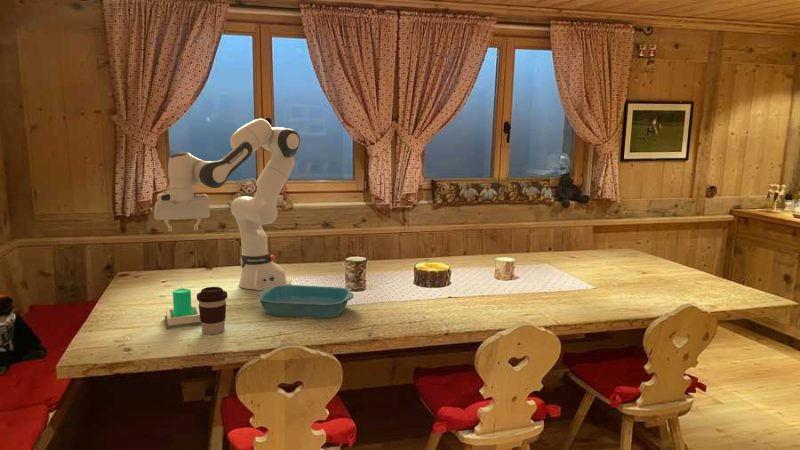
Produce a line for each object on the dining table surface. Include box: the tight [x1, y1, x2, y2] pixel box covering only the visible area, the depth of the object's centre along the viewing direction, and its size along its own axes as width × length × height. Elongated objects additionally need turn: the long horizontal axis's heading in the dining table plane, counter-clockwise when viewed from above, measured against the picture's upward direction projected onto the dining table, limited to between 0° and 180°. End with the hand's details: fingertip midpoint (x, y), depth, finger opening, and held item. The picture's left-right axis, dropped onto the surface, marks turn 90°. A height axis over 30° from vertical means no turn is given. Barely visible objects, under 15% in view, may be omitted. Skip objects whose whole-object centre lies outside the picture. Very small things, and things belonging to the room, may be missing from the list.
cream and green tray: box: [164, 305, 202, 329], centre depth 204 cm, size 15×11×4 cm
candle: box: [172, 286, 192, 317], centre depth 202 cm, size 6×6×12 cm
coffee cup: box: [196, 286, 228, 335], centre depth 193 cm, size 10×10×15 cm
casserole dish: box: [257, 284, 354, 319], centre depth 218 cm, size 37×22×7 cm, turn 83°
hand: (183, 230), depth 220 cm, fingers open, 8 cm apart
